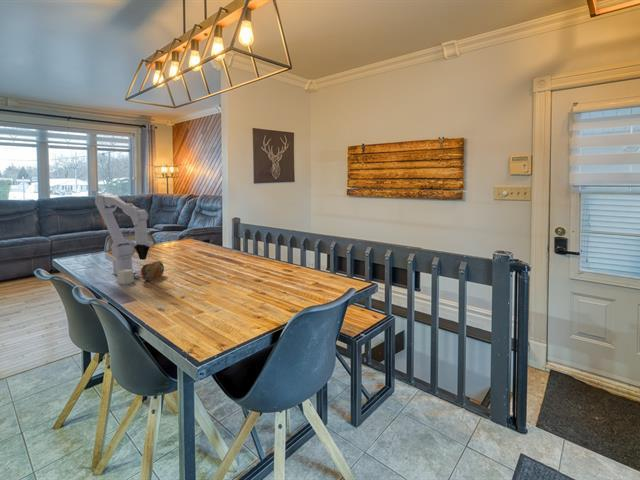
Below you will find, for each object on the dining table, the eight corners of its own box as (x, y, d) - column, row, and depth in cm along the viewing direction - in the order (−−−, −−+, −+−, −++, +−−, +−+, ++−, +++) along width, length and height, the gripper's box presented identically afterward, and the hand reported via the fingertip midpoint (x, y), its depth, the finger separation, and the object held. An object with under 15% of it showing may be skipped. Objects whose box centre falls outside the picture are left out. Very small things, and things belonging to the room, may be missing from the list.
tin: (146, 282, 177) (144, 266, 176) (140, 282, 178) (139, 265, 176) (164, 274, 192) (163, 259, 190) (159, 274, 192) (158, 259, 191)
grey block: (117, 283, 176) (116, 271, 175) (127, 280, 181) (126, 268, 180) (124, 284, 174) (123, 272, 173) (133, 281, 179) (132, 270, 178)
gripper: (124, 233, 183) (126, 259, 185) (144, 235, 177) (146, 262, 179) (136, 231, 189) (138, 256, 192) (156, 233, 183) (157, 259, 186)
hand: (143, 259), depth 186 cm, fingers closed
